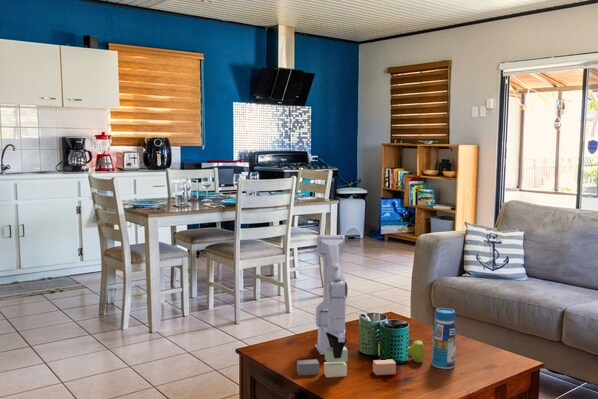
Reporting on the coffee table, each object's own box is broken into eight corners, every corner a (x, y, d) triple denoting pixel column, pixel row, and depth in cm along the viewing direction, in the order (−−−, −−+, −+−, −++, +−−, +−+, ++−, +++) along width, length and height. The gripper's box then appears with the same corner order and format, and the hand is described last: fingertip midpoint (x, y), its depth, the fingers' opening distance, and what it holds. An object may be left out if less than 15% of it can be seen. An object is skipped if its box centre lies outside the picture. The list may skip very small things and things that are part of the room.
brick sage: (324, 358, 201) (325, 347, 200) (344, 357, 202) (345, 346, 202) (327, 362, 197) (327, 351, 197) (347, 361, 199) (347, 350, 198)
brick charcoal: (296, 371, 203) (296, 360, 202) (316, 370, 204) (316, 359, 203) (298, 375, 199) (298, 364, 199) (318, 374, 200) (319, 363, 200)
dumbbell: (377, 361, 212) (377, 342, 212) (378, 353, 220) (378, 335, 219) (423, 365, 210) (424, 346, 209) (423, 357, 217) (424, 338, 217)
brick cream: (324, 373, 201) (324, 362, 201) (343, 372, 203) (344, 361, 202) (326, 377, 198) (326, 366, 197) (346, 376, 199) (346, 365, 199)
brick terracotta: (372, 371, 204) (373, 360, 203) (392, 370, 205) (392, 359, 205) (375, 375, 200) (376, 364, 200) (395, 374, 202) (395, 363, 201)
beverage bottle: (428, 360, 214) (430, 306, 212) (450, 360, 214) (453, 306, 212) (435, 369, 205) (437, 314, 203) (458, 369, 206) (461, 313, 204)
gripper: (320, 310, 204) (319, 348, 206) (330, 323, 190) (329, 364, 192) (339, 309, 206) (339, 347, 207) (351, 322, 192) (350, 363, 193)
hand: (335, 355), depth 200 cm, fingers closed on brick sage, 3 cm apart
